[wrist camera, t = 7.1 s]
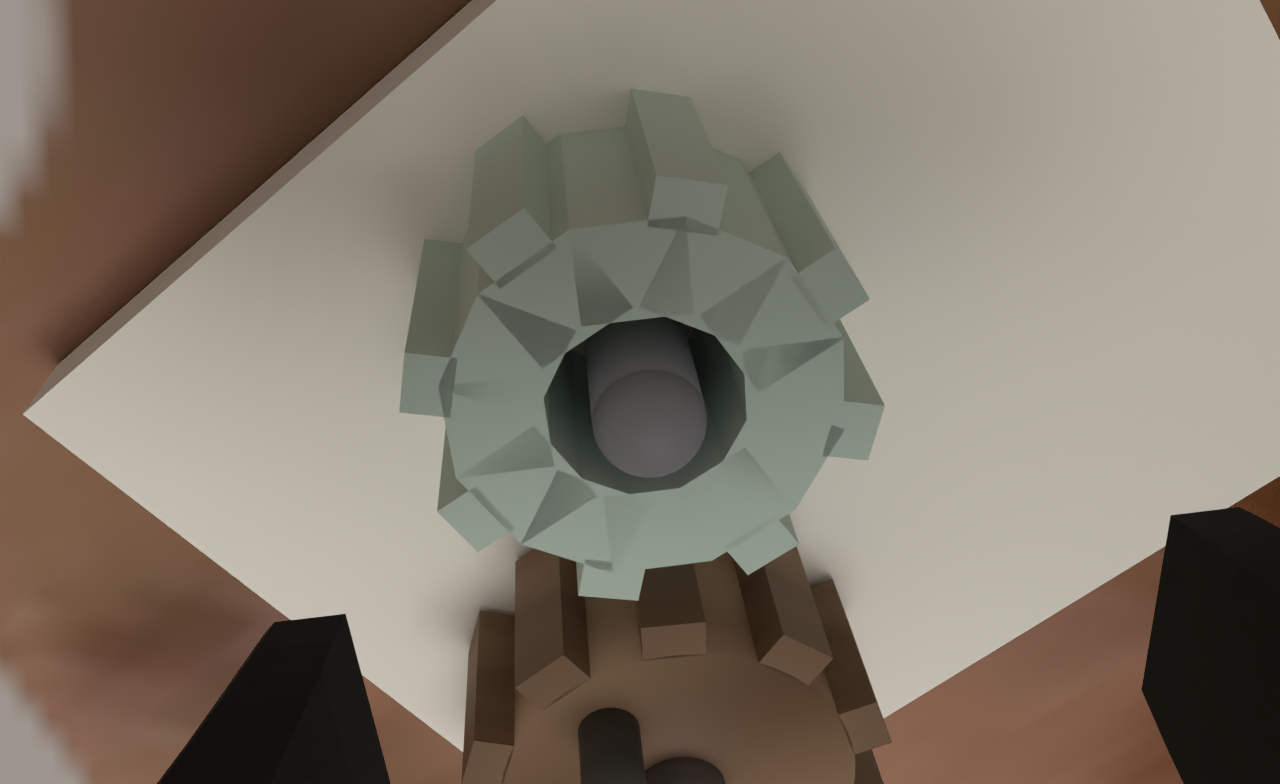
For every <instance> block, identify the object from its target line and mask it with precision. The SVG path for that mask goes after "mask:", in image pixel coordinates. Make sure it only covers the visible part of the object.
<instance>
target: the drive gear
mask: <svg viewBox="0 0 1280 784" xmlns="http://www.w3.org/2000/svg"><path fill="white" fill-rule="evenodd" d="M889 743H892V741H891V739H890V736H889V733H888V730H887V727H886V725H885V722H884V719H883V716H882V713H881V711H880V708H879V705H878V702H877V699H876V697H875V694H874V691H873V688H872V685H871V683H870V680H869V677H868V674H867V672H866V669H865V666H864V663H863V660H862V658H861V655H860V652H859V649H858V646H857V644H856V641H855V638H854V635H853V632H852V630H851V627H850V624H849V621H848V618H847V616H846V613H845V610H844V608H843V605H842V602H841V600H840V597H839V594H838V592H837V589H836V586H835V584H834V581H833V579H830V580H827V581H824V582H821V583H819V584H816V585H813V586H810V585H809V582H808V579H807V576H806V573H805V570H804V567H803V564H802V561H801V558H800V555H799V552H798V549H797V546H796V547H794V548H792V549H791V550H789V551H787V552H786V553H784V554H782V555H781V556H779V557H777V558H776V559H774V560H772V561H771V562H769V563H767V564H766V565H764V566H762V567H761V568H759V569H757V570H756V571H754V572H752V573H751V574H749V575H747V574H746V573H745V571H744V570H743V569H742V568H741V567H740V566H739V564H738V563H737V562H736V561H735V560H734V559H733V558H732V556H731V555H730V554H729V553H728V552H725V553H724V554H722V555H720V556H719V557H717V558H716V559H714V560H712V561H707V562H699V563H691V564H683V565H675V566H667V567H659V568H651V569H645V572H644V577H643V581H642V586H641V591H640V595H639V600H638V601H636V600H623V599H611V598H599V597H586V596H578V584H577V569H576V561H573V560H569V559H566V558H563V557H560V556H557V555H554V554H550V553H547V552H544V551H541V550H538V549H533V550H531V551H530V552H528V553H527V554H526V555H524V556H523V557H521V558H520V559H519V560H517V561H516V562H515V616H512V615H506V614H499V613H493V612H486V611H479V615H478V618H477V622H476V626H475V629H474V633H473V637H472V641H471V644H470V648H469V654H468V673H467V691H466V710H465V729H464V748H463V766H462V784H883V781H882V778H881V775H880V772H879V769H878V766H877V763H876V760H875V758H874V755H873V752H872V749H873V748H876V747H879V746H883V745H886V744H889Z"/></svg>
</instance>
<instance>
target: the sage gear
mask: <svg viewBox="0 0 1280 784" xmlns="http://www.w3.org/2000/svg"><path fill="white" fill-rule="evenodd" d="M868 300H870V299H869V297H868V295H867V294H866V292H865V290H864V288H863V287H862V285H861V283H860V282H859V280H858V278H857V276H856V275H855V273H854V271H853V270H852V268H851V266H850V265H849V263H848V261H847V259H846V258H845V256H844V254H843V253H842V251H841V249H840V248H839V246H838V244H837V242H836V241H835V239H834V237H833V236H832V234H831V232H830V230H829V229H828V227H827V225H826V224H825V222H824V220H823V219H822V217H821V215H820V213H819V212H818V210H817V208H816V207H815V205H814V203H813V201H812V200H811V198H810V196H809V195H808V193H807V192H806V190H805V189H804V187H803V186H802V184H801V183H800V182H799V180H798V179H797V177H796V176H795V174H794V173H793V171H792V170H791V168H790V167H789V165H788V164H787V162H786V161H785V159H784V158H783V156H782V155H781V153H780V152H779V153H777V154H776V155H774V156H773V157H772V158H770V159H769V160H767V161H766V162H764V163H763V164H761V165H760V166H758V167H757V168H756V169H754V170H753V171H751V172H750V173H749V172H748V170H747V169H746V168H745V166H744V165H743V163H742V162H741V160H740V159H738V158H735V157H733V156H731V155H729V154H726V153H724V152H722V151H719V150H717V149H715V148H712V146H711V144H710V142H709V139H708V137H707V135H706V132H705V130H704V128H703V125H702V123H701V121H700V118H699V116H698V114H697V112H696V109H695V107H694V105H693V102H692V100H691V98H690V97H686V96H679V95H672V94H665V93H659V92H652V91H645V90H638V89H632V88H631V94H630V99H629V105H628V111H627V117H626V123H625V127H617V128H608V129H600V130H591V131H582V132H574V133H565V134H560V135H558V136H557V137H556V138H554V139H553V140H552V141H550V142H549V143H547V144H545V143H544V141H543V140H542V139H541V138H540V136H539V135H538V134H537V132H536V131H535V130H534V129H533V127H532V126H531V125H530V124H529V122H528V121H527V120H526V118H525V117H524V116H521V117H520V118H519V119H517V120H516V121H515V122H513V123H512V124H511V125H509V126H508V127H507V128H505V129H504V130H502V131H501V132H500V133H498V134H497V135H496V136H494V137H493V138H492V139H490V140H489V141H488V142H486V143H485V144H484V145H482V146H481V147H479V148H478V149H477V150H476V153H475V164H474V174H473V184H472V195H471V205H470V215H469V226H468V231H467V233H466V236H465V238H464V241H463V243H462V244H461V243H453V242H445V241H437V240H429V239H424V245H423V250H422V256H421V262H420V267H419V273H418V279H417V284H416V290H415V296H414V301H413V307H412V313H411V318H410V324H409V330H408V335H407V341H406V347H405V352H404V363H403V375H402V386H401V397H400V408H399V413H409V414H418V415H428V416H438V417H444V421H445V426H446V428H445V438H444V448H443V458H442V468H441V478H440V488H439V497H438V507H437V512H438V513H439V514H440V515H441V516H442V517H443V518H444V519H445V520H446V521H447V522H448V523H449V524H450V525H451V526H452V527H453V528H454V529H455V530H456V531H457V532H458V533H459V534H460V535H461V536H462V537H463V538H464V539H465V540H466V541H467V542H468V543H469V544H470V545H471V546H472V547H473V548H474V549H475V550H476V551H477V552H479V551H481V550H482V549H484V548H485V547H487V546H488V545H490V544H492V543H493V542H495V541H496V540H498V539H499V538H501V537H502V536H504V535H506V534H507V533H510V534H511V535H512V536H513V537H514V538H515V539H516V540H517V541H518V542H519V543H520V544H521V545H525V546H528V547H531V548H534V549H538V550H541V551H544V552H547V553H550V554H554V555H557V556H560V557H563V558H566V559H569V560H573V561H576V569H577V584H578V596H586V597H599V598H611V599H623V600H636V601H638V600H639V595H640V591H641V586H642V581H643V577H644V572H645V569H651V568H659V567H667V566H675V565H683V564H691V563H699V562H707V561H712V560H714V559H716V558H717V557H719V556H720V555H722V554H724V553H725V552H728V553H729V554H730V555H731V556H732V558H733V559H734V560H735V561H736V562H737V563H738V564H739V566H740V567H741V568H742V569H743V570H744V571H745V573H746V574H747V575H749V574H751V573H752V572H754V571H756V570H757V569H759V568H761V567H762V566H764V565H766V564H767V563H769V562H771V561H772V560H774V559H776V558H777V557H779V556H781V555H782V554H784V553H786V552H787V551H789V550H791V549H792V548H794V547H796V546H797V545H799V542H798V539H797V536H796V533H795V530H794V527H793V524H792V521H791V518H790V515H789V513H791V512H793V511H794V510H795V509H796V508H797V506H798V505H799V503H800V501H801V500H802V498H803V496H804V495H805V493H806V492H807V490H808V488H809V487H810V485H811V483H812V482H813V480H814V479H815V477H816V475H817V474H818V472H819V470H820V469H821V467H822V466H823V464H824V462H825V461H826V459H827V457H828V456H829V457H839V458H848V459H858V460H868V459H869V456H870V452H871V449H872V446H873V443H874V439H875V436H876V433H877V430H878V427H879V423H880V420H881V417H882V414H883V410H884V407H885V405H884V403H883V401H882V399H881V397H880V395H879V393H878V391H877V389H876V388H875V386H874V384H873V382H872V380H871V378H870V376H869V374H868V372H867V370H866V368H865V366H864V364H863V362H862V361H861V359H860V357H859V355H858V353H857V351H856V349H855V347H854V345H853V343H852V341H851V339H850V337H849V336H848V334H847V332H846V330H845V328H844V326H843V324H842V322H841V320H840V318H842V317H844V316H845V315H847V314H848V313H850V312H851V311H853V310H854V309H856V308H858V307H859V306H861V305H862V304H864V303H865V302H867V301H868ZM657 317H668V318H670V319H673V320H676V321H678V322H681V323H683V324H686V325H689V326H691V327H694V329H693V331H692V333H691V335H690V337H688V342H689V346H690V350H691V354H692V357H693V361H694V365H695V369H696V372H697V376H698V380H699V384H700V388H701V391H702V395H703V399H704V403H705V407H706V412H707V428H706V434H705V437H704V440H703V443H702V445H701V447H700V449H699V451H698V452H697V453H696V455H695V456H694V457H693V459H692V460H691V461H690V462H689V463H688V464H686V465H685V466H684V467H683V468H681V469H679V470H678V471H676V472H674V473H671V474H668V475H666V476H661V477H655V478H644V477H637V476H633V475H630V474H628V473H625V472H623V471H622V470H620V469H618V468H617V467H615V466H614V465H613V464H612V463H610V462H609V461H608V459H607V458H606V457H605V456H604V455H603V453H602V452H601V450H600V449H599V447H598V445H597V442H596V440H595V437H594V433H593V428H592V419H591V409H590V399H589V389H588V379H587V369H586V359H585V355H582V354H579V353H576V352H574V351H571V349H572V348H574V347H575V346H577V345H578V344H580V343H581V342H583V341H584V340H586V339H587V338H589V337H590V336H592V335H593V334H594V333H596V332H597V331H599V330H600V329H602V328H603V327H605V326H606V325H608V324H609V323H615V322H624V321H632V320H640V319H649V318H657Z"/></svg>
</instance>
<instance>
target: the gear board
mask: <svg viewBox="0 0 1280 784" xmlns="http://www.w3.org/2000/svg"><path fill="white" fill-rule="evenodd" d="M631 88H632V89H638V90H645V91H652V92H659V93H665V94H672V95H679V96H686V97H690V98H691V100H692V102H693V105H694V107H695V109H696V112H697V114H698V116H699V118H700V121H701V123H702V125H703V128H704V130H705V132H706V135H707V137H708V139H709V142H710V144H711V146H712V148H715V149H717V150H719V151H722V152H724V153H726V154H729V155H731V156H733V157H735V158H738V159H740V160H741V162H742V163H743V165H744V166H745V168H746V169H747V170H748V172H749V173H750V172H751V171H753V170H754V169H756V168H757V167H758V166H760V165H761V164H763V163H764V162H766V161H767V160H769V159H770V158H772V157H773V156H774V155H776V154H777V153H779V152H780V153H781V155H782V156H783V158H784V159H785V161H786V162H787V164H788V165H789V167H790V168H791V170H792V171H793V173H794V174H795V176H796V177H797V179H798V180H799V182H800V183H801V184H802V186H803V187H804V189H805V190H806V192H807V193H808V195H809V196H810V198H811V200H812V201H813V203H814V205H815V207H816V208H817V210H818V212H819V213H820V215H821V217H822V219H823V220H824V222H825V224H826V225H827V227H828V229H829V230H830V232H831V234H832V236H833V237H834V239H835V241H836V242H837V244H838V246H839V248H840V249H841V251H842V253H843V254H844V256H845V258H846V259H847V261H848V263H849V265H850V266H851V268H852V270H853V271H854V273H855V275H856V276H857V278H858V280H859V282H860V283H861V285H862V287H863V288H864V290H865V292H866V294H867V295H868V297H869V299H870V300H868V301H867V302H865V303H864V304H862V305H861V306H859V307H858V308H856V309H854V310H853V311H851V312H850V313H848V314H847V315H845V316H844V317H842V318H840V320H841V322H842V324H843V326H844V328H845V330H846V332H847V334H848V336H849V337H850V339H851V341H852V343H853V345H854V347H855V349H856V351H857V353H858V355H859V357H860V359H861V361H862V362H863V364H864V366H865V368H866V370H867V372H868V374H869V376H870V378H871V380H872V382H873V384H874V386H875V388H876V389H877V391H878V393H879V395H880V397H881V399H882V401H883V403H884V405H885V407H884V410H883V414H882V417H881V420H880V423H879V427H878V430H877V433H876V436H875V439H874V443H873V446H872V449H871V452H870V456H869V459H868V460H858V459H848V458H839V457H829V456H828V457H827V459H826V461H825V462H824V464H823V466H822V467H821V469H820V470H819V472H818V474H817V475H816V477H815V479H814V480H813V482H812V483H811V485H810V487H809V488H808V490H807V492H806V493H805V495H804V496H803V498H802V500H801V501H800V503H799V505H798V506H797V508H796V509H795V510H794V511H793V512H791V513H789V515H790V518H791V521H792V524H793V527H794V530H795V533H796V536H797V539H798V542H799V545H797V549H798V552H799V555H800V558H801V561H802V564H803V567H804V570H805V573H806V576H807V579H808V582H809V585H810V586H813V585H816V584H819V583H821V582H824V581H827V580H830V579H833V581H834V584H835V586H836V589H837V592H838V594H839V597H840V600H841V602H842V605H843V608H844V610H845V613H846V616H847V618H848V621H849V624H850V627H851V630H852V632H853V635H854V638H855V641H856V644H857V646H858V649H859V652H860V655H861V658H862V660H863V663H864V666H865V669H866V672H867V674H868V677H869V680H870V683H871V685H872V688H873V691H874V694H875V697H876V699H877V702H878V705H879V708H880V711H881V713H882V716H883V718H885V717H887V716H888V715H890V714H892V713H893V712H895V711H896V710H898V709H900V708H901V707H903V706H905V705H906V704H908V703H910V702H911V701H913V700H914V699H916V698H918V697H919V696H921V695H923V694H924V693H926V692H928V691H929V690H931V689H932V688H934V687H936V686H937V685H939V684H941V683H942V682H944V681H945V680H947V679H949V678H950V677H952V676H954V675H955V674H957V673H959V672H960V671H962V670H963V669H965V668H967V667H968V666H970V665H972V664H973V663H975V662H977V661H978V660H980V659H981V658H983V657H985V656H986V655H988V654H990V653H991V652H993V651H995V650H996V649H998V648H999V647H1001V646H1003V645H1004V644H1006V643H1008V642H1009V641H1011V640H1012V639H1014V638H1016V637H1017V636H1019V635H1021V634H1022V633H1024V632H1026V631H1027V630H1029V629H1030V628H1032V627H1034V626H1035V625H1037V624H1039V623H1040V622H1042V621H1044V620H1045V619H1047V618H1048V617H1050V616H1052V615H1053V614H1055V613H1057V612H1058V611H1060V610H1062V609H1063V608H1065V607H1066V606H1068V605H1070V604H1071V603H1073V602H1075V601H1076V600H1078V599H1079V598H1081V597H1083V596H1084V595H1086V594H1088V593H1089V592H1091V591H1093V590H1094V589H1096V588H1097V587H1099V586H1101V585H1102V584H1104V583H1106V582H1107V581H1109V580H1111V579H1112V578H1114V577H1115V576H1117V575H1119V574H1120V573H1122V572H1124V571H1125V570H1127V569H1129V568H1130V567H1132V566H1133V565H1135V564H1137V563H1138V562H1140V561H1142V560H1143V559H1145V558H1146V557H1148V556H1150V555H1151V554H1153V553H1155V552H1156V551H1158V550H1160V549H1161V548H1163V547H1164V546H1166V541H1167V535H1168V528H1169V522H1170V516H1171V515H1177V514H1185V513H1194V512H1202V511H1210V510H1219V509H1227V508H1228V507H1230V506H1231V505H1233V504H1235V503H1236V502H1238V501H1240V500H1241V499H1243V498H1245V497H1246V496H1248V495H1249V494H1251V493H1253V492H1254V491H1256V490H1258V489H1259V488H1261V487H1263V486H1264V485H1266V484H1267V483H1269V482H1271V481H1272V480H1274V479H1276V478H1277V477H1279V476H1280V40H1279V38H1278V36H1277V34H1276V32H1275V30H1274V28H1273V26H1272V24H1271V22H1270V20H1269V18H1268V16H1267V14H1266V12H1265V10H1264V8H1263V6H1262V4H1261V2H1260V0H472V1H470V2H469V3H468V4H467V5H466V6H465V7H464V8H462V9H461V10H460V11H459V12H458V13H457V14H456V15H455V16H453V17H452V18H451V19H450V20H449V21H448V22H447V23H445V24H444V25H443V26H442V27H441V28H440V29H439V30H437V31H436V32H435V33H434V34H433V35H432V36H431V37H430V38H428V39H427V40H426V41H425V42H424V43H423V44H422V45H420V46H419V47H418V48H417V49H416V50H415V51H414V52H412V53H411V54H410V55H409V56H408V57H407V58H406V59H405V60H403V61H402V62H401V63H400V64H399V65H398V66H397V67H395V68H394V69H393V70H392V71H391V72H390V73H389V74H387V75H386V76H385V77H384V78H383V79H382V80H381V81H379V82H378V83H377V84H376V85H375V86H374V87H373V88H372V89H370V90H369V91H368V92H367V93H366V94H365V95H364V96H362V97H361V98H360V99H359V100H358V101H357V102H356V103H354V104H353V105H352V106H351V107H350V108H349V109H348V110H347V111H345V112H344V113H343V114H342V115H341V116H340V117H339V118H337V119H336V120H335V121H334V122H333V123H332V124H331V125H329V126H328V127H327V128H326V129H325V130H324V131H323V132H322V133H320V134H319V135H318V136H317V137H316V138H315V139H314V140H312V141H311V142H310V143H309V144H308V145H307V146H306V147H304V148H303V149H302V150H301V151H300V152H299V153H298V154H297V155H295V156H294V157H293V158H292V159H291V160H290V161H289V162H287V163H286V164H285V165H284V166H283V167H282V168H281V169H279V170H278V171H277V172H276V173H275V174H274V175H273V176H272V177H270V178H269V179H268V180H267V181H266V182H265V183H264V184H262V185H261V186H260V187H259V188H258V189H257V190H256V191H254V192H253V193H252V194H251V195H250V196H249V197H248V198H246V199H245V200H244V201H243V202H242V203H241V204H240V205H239V206H237V207H236V208H235V209H234V210H233V211H232V212H231V213H229V214H228V215H227V216H226V217H225V218H224V219H223V220H221V221H220V222H219V223H218V224H217V225H216V226H215V227H214V228H212V229H211V230H210V231H209V232H208V233H207V234H206V235H204V236H203V237H202V238H201V239H200V240H199V241H198V242H196V243H195V244H194V245H193V246H192V247H191V248H190V249H189V250H187V251H186V252H185V253H184V254H183V255H182V256H181V257H179V258H178V259H177V260H176V261H175V262H174V263H173V264H171V265H170V266H169V267H168V268H167V269H166V270H165V271H164V272H162V273H161V274H160V275H159V276H158V277H157V278H156V279H154V280H153V281H152V282H151V283H150V284H149V285H148V286H146V287H145V288H144V289H143V290H142V291H141V292H140V293H139V294H137V295H136V296H135V297H134V298H133V299H132V300H131V301H129V302H128V303H127V304H126V305H125V306H124V307H123V308H121V309H120V310H119V311H118V312H117V313H116V314H115V315H114V316H112V317H111V318H110V319H109V320H108V321H107V322H106V323H104V324H103V325H102V326H101V327H100V328H99V329H98V330H96V331H95V332H94V333H93V334H92V335H91V336H90V337H88V338H87V339H86V340H85V341H84V342H83V343H82V344H81V345H79V346H78V347H77V348H76V349H75V350H74V351H73V352H71V353H70V354H69V355H68V356H67V357H66V358H65V359H63V360H62V361H61V362H60V363H59V364H58V365H57V366H56V367H55V369H54V370H53V372H52V373H51V374H50V376H49V377H48V379H47V380H46V382H45V383H44V384H43V386H42V387H41V389H40V390H39V392H38V393H37V394H36V396H35V397H34V399H33V400H32V402H31V403H30V405H29V406H28V407H27V409H26V410H25V412H24V413H23V415H24V416H26V417H27V418H28V419H29V420H31V421H32V422H33V423H35V424H36V425H37V426H39V427H40V428H41V429H42V430H44V431H45V432H46V433H48V434H49V435H50V436H52V437H53V438H54V439H56V440H57V441H58V442H59V443H61V444H62V445H63V446H65V447H66V448H67V449H69V450H70V451H71V452H72V453H74V454H75V455H76V456H78V457H79V458H80V459H82V460H83V461H84V462H85V463H87V464H88V465H89V466H91V467H92V468H93V469H95V470H96V471H97V472H99V473H100V474H101V475H102V476H104V477H105V478H106V479H108V480H109V481H110V482H112V483H113V484H114V485H115V486H117V487H118V488H119V489H121V490H122V491H123V492H125V493H126V494H127V495H129V496H130V497H131V498H132V499H134V500H135V501H136V502H138V503H139V504H140V505H142V506H143V507H144V508H145V509H147V510H148V511H149V512H151V513H152V514H153V515H155V516H156V517H157V518H158V519H160V520H161V521H162V522H164V523H165V524H166V525H168V526H169V527H170V528H172V529H173V530H174V531H175V532H177V533H178V534H179V535H181V536H182V537H183V538H185V539H186V540H187V541H188V542H190V543H191V544H192V545H194V546H195V547H196V548H198V549H199V550H200V551H201V552H203V553H204V554H205V555H207V556H208V557H209V558H211V559H212V560H213V561H215V562H216V563H217V564H218V565H220V566H221V567H222V568H224V569H225V570H226V571H228V572H229V573H230V574H231V575H233V576H234V577H235V578H237V579H238V580H239V581H241V582H242V583H243V584H245V585H246V586H247V587H248V588H250V589H251V590H252V591H254V592H255V593H256V594H258V595H259V596H260V597H261V598H263V599H264V600H265V601H267V602H268V603H269V604H271V605H272V606H273V607H274V608H276V609H277V610H278V611H280V612H281V613H282V614H284V615H285V616H286V617H288V618H289V619H290V620H297V619H306V618H314V617H323V616H331V615H339V614H346V617H347V621H348V625H349V629H350V632H351V636H352V640H353V644H354V648H355V651H356V655H357V659H358V663H359V667H360V670H361V674H362V675H363V676H364V677H366V678H367V679H368V680H370V681H371V682H372V683H374V684H375V685H376V686H377V687H379V688H380V689H381V690H383V691H384V692H385V693H387V694H388V695H389V696H390V697H392V698H393V699H394V700H396V701H397V702H398V703H400V704H401V705H402V706H404V707H405V708H406V709H407V710H409V711H410V712H411V713H413V714H414V715H415V716H417V717H418V718H419V719H420V720H422V721H423V722H424V723H426V724H427V725H428V726H430V727H431V728H432V729H433V730H435V731H436V732H437V733H439V734H440V735H441V736H443V737H444V738H445V739H447V740H448V741H449V742H450V743H452V744H453V745H454V746H456V747H457V748H458V749H460V750H461V751H462V752H463V748H464V729H465V710H466V691H467V673H468V654H469V648H470V644H471V641H472V637H473V633H474V629H475V626H476V622H477V618H478V615H479V611H486V612H493V613H499V614H506V615H512V616H515V562H516V561H517V560H519V559H520V558H521V557H523V556H524V555H526V554H527V553H528V552H530V551H531V550H533V549H534V548H531V547H528V546H525V545H521V544H520V543H519V542H518V541H517V540H516V539H515V538H514V537H513V536H512V535H511V534H510V533H507V534H506V535H504V536H502V537H501V538H499V539H498V540H496V541H495V542H493V543H492V544H490V545H488V546H487V547H485V548H484V549H482V550H481V551H479V552H477V551H476V550H475V549H474V548H473V547H472V546H471V545H470V544H469V543H468V542H467V541H466V540H465V539H464V538H463V537H462V536H461V535H460V534H459V533H458V532H457V531H456V530H455V529H454V528H453V527H452V526H451V525H450V524H449V523H448V522H447V521H446V520H445V519H444V518H443V517H442V516H441V515H440V514H439V513H438V512H437V507H438V497H439V488H440V478H441V468H442V458H443V448H444V438H445V428H446V426H445V421H444V417H438V416H428V415H418V414H409V413H399V408H400V397H401V386H402V375H403V363H404V352H405V347H406V341H407V335H408V330H409V324H410V318H411V313H412V307H413V301H414V296H415V290H416V284H417V279H418V273H419V267H420V262H421V256H422V250H423V245H424V239H429V240H437V241H445V242H453V243H461V244H462V243H463V241H464V238H465V236H466V233H467V231H468V226H469V215H470V205H471V195H472V184H473V174H474V164H475V153H476V150H477V149H478V148H479V147H481V146H482V145H484V144H485V143H486V142H488V141H489V140H490V139H492V138H493V137H494V136H496V135H497V134H498V133H500V132H501V131H502V130H504V129H505V128H507V127H508V126H509V125H511V124H512V123H513V122H515V121H516V120H517V119H519V118H520V117H521V116H524V117H525V118H526V120H527V121H528V122H529V124H530V125H531V126H532V127H533V129H534V130H535V131H536V132H537V134H538V135H539V136H540V138H541V139H542V140H543V141H544V143H545V144H547V143H549V142H550V141H552V140H553V139H554V138H556V137H557V136H558V135H560V134H565V133H574V132H582V131H591V130H600V129H608V128H617V127H625V123H626V117H627V111H628V105H629V99H630V94H631ZM693 329H694V327H691V326H689V325H686V324H683V323H681V322H678V321H676V320H673V319H670V318H668V317H657V318H649V319H640V320H632V321H624V322H615V323H609V324H608V325H606V326H605V327H603V328H602V329H600V330H599V331H597V332H596V333H594V334H593V335H592V336H590V337H589V338H587V339H586V340H584V341H583V342H581V343H580V344H578V345H577V346H575V347H574V348H572V349H571V351H574V352H576V353H579V354H582V355H585V359H586V369H587V379H588V389H589V399H590V409H591V419H592V428H593V433H594V437H595V440H596V442H597V445H598V447H599V449H600V450H601V452H602V453H603V455H604V456H605V457H606V458H607V459H608V461H609V462H610V463H612V464H613V465H614V466H615V467H617V468H618V469H620V470H622V471H623V472H625V473H628V474H630V475H633V476H637V477H644V478H655V477H661V476H666V475H668V474H671V473H674V472H676V471H678V470H679V469H681V468H683V467H684V466H685V465H686V464H688V463H689V462H690V461H691V460H692V459H693V457H694V456H695V455H696V453H697V452H698V451H699V449H700V447H701V445H702V443H703V440H704V437H705V434H706V428H707V412H706V407H705V403H704V399H703V395H702V391H701V388H700V384H699V380H698V376H697V372H696V369H695V365H694V361H693V357H692V354H691V350H690V346H689V342H688V337H690V335H691V333H692V331H693Z"/></svg>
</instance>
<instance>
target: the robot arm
mask: <svg viewBox="0 0 1280 784" xmlns="http://www.w3.org/2000/svg"><path fill="white" fill-rule="evenodd" d="M1142 692H1143V694H1144V696H1145V699H1146V701H1147V703H1148V705H1149V708H1150V710H1151V712H1152V715H1153V717H1154V719H1155V722H1156V724H1157V726H1158V728H1159V731H1160V733H1161V735H1162V738H1163V740H1164V742H1165V745H1166V747H1167V749H1168V751H1169V753H1170V755H1171V757H1172V760H1173V762H1174V764H1175V766H1176V768H1177V770H1178V772H1179V774H1180V777H1181V779H1182V781H1183V783H1184V784H1280V528H1278V527H1276V526H1274V525H1273V524H1271V523H1269V522H1267V521H1265V520H1263V519H1262V518H1260V517H1258V516H1256V515H1254V514H1252V513H1250V512H1248V511H1246V510H1244V509H1242V508H1240V507H1236V508H1227V509H1219V510H1210V511H1202V512H1194V513H1185V514H1177V515H1171V516H1170V522H1169V528H1168V535H1167V541H1166V547H1165V553H1164V559H1163V565H1162V571H1161V577H1160V583H1159V589H1158V595H1157V601H1156V607H1155V613H1154V619H1153V625H1152V631H1151V637H1150V643H1149V649H1148V655H1147V661H1146V667H1145V673H1144V679H1143V685H1142ZM157 784H390V780H389V776H388V773H387V769H386V765H385V761H384V757H383V754H382V750H381V746H380V742H379V738H378V735H377V731H376V727H375V723H374V720H373V716H372V712H371V708H370V704H369V701H368V697H367V693H366V689H365V685H364V682H363V678H362V674H361V670H360V667H359V663H358V659H357V655H356V651H355V648H354V644H353V640H352V636H351V632H350V629H349V625H348V621H347V617H346V614H339V615H331V616H323V617H314V618H306V619H297V620H289V621H281V622H274V623H273V625H272V626H271V627H270V628H269V629H268V630H267V632H266V633H265V634H264V635H263V637H262V638H261V640H260V641H259V642H258V644H257V645H256V647H255V648H254V649H253V651H252V652H251V654H250V655H249V656H248V658H247V659H246V661H245V662H244V664H243V665H242V666H241V668H240V669H239V671H238V672H237V674H236V675H235V677H234V678H233V679H232V681H231V682H230V684H229V685H228V687H227V688H226V689H225V691H224V692H223V694H222V695H221V697H220V698H219V699H218V701H217V702H216V704H215V705H214V706H213V708H212V709H211V711H210V712H209V714H208V715H207V716H206V718H205V719H204V720H203V722H202V723H201V725H200V726H199V727H198V729H197V730H196V732H195V733H194V734H193V736H192V737H191V739H190V740H189V741H188V743H187V744H186V746H185V747H184V748H183V750H182V751H181V752H180V754H179V755H178V756H177V758H176V759H175V760H174V762H173V763H172V764H171V766H170V767H169V768H168V770H167V771H166V772H165V774H164V775H163V776H162V778H161V779H160V780H159V782H158V783H157Z"/></svg>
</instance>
